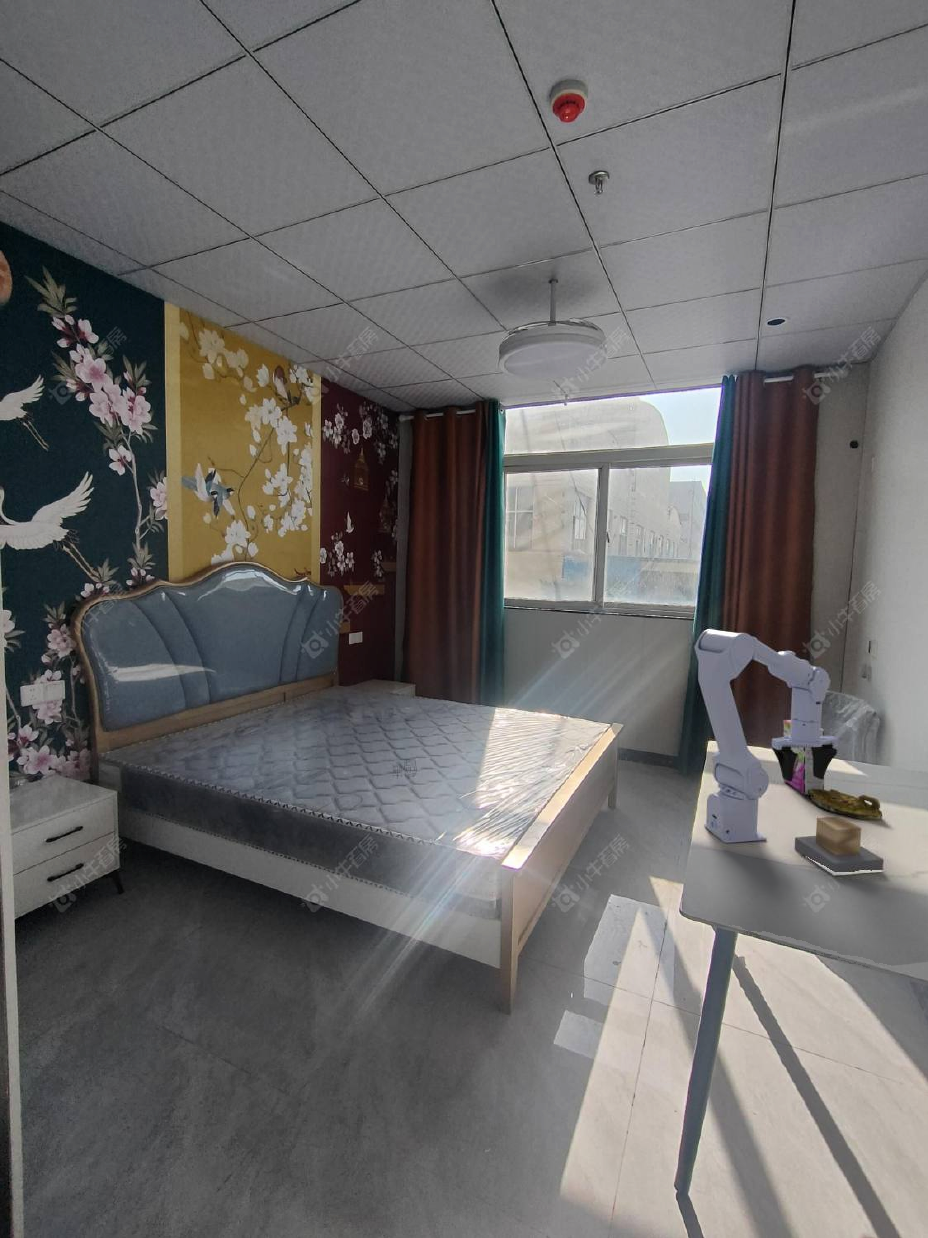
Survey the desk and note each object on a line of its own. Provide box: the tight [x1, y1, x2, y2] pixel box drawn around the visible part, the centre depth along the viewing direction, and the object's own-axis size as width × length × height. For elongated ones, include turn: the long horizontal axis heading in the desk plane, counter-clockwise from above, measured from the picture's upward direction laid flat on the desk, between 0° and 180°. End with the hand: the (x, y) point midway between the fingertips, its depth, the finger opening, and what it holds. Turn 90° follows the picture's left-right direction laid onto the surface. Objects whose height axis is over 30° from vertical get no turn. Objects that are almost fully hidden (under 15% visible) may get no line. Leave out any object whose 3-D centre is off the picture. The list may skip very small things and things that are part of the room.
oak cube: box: [815, 815, 862, 855], centre depth 107 cm, size 5×5×5 cm
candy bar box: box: [782, 719, 825, 796], centre depth 141 cm, size 11×5×16 cm, turn 174°
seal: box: [808, 789, 883, 821], centre depth 130 cm, size 9×5×15 cm
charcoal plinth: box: [794, 835, 884, 872], centre depth 107 cm, size 10×10×2 cm
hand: (802, 778), depth 124 cm, fingers open, 7 cm apart
